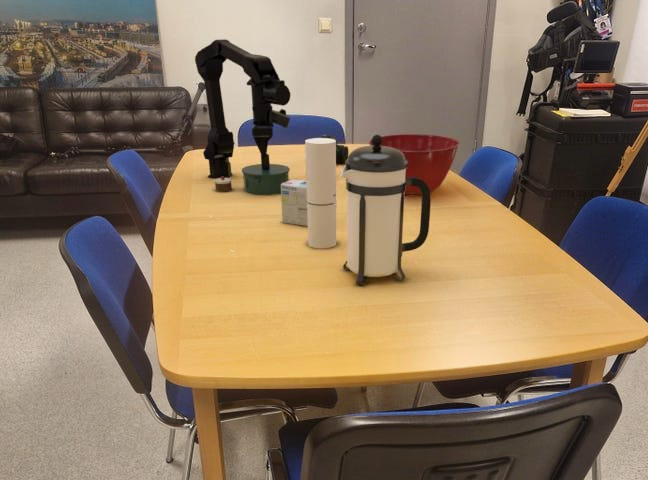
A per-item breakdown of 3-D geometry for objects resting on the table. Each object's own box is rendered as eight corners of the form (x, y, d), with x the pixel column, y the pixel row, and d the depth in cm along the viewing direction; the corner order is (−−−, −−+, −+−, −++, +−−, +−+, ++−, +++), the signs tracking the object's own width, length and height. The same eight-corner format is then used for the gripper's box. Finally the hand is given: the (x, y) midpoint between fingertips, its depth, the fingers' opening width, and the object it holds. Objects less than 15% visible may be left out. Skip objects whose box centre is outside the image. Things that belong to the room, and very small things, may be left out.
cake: (212, 191, 202) (211, 177, 200) (219, 187, 207) (218, 173, 205) (228, 192, 201) (226, 178, 199) (234, 188, 206) (233, 174, 203)
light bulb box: (327, 221, 175) (326, 182, 170) (315, 228, 170) (314, 188, 164) (293, 216, 179) (291, 178, 174) (281, 222, 174) (279, 183, 168)
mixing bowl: (355, 196, 198) (355, 145, 190) (385, 176, 221) (386, 130, 213) (442, 206, 189) (446, 153, 181) (464, 184, 212) (468, 136, 204)
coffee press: (390, 294, 131) (397, 145, 116) (327, 278, 139) (325, 136, 124) (427, 268, 144) (437, 131, 129) (367, 255, 151) (370, 124, 137)
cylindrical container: (340, 241, 161) (340, 139, 148) (330, 249, 155) (329, 144, 142) (314, 237, 163) (312, 137, 150) (303, 246, 157) (300, 142, 144)
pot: (234, 195, 198) (232, 176, 196) (257, 180, 215) (256, 162, 212) (277, 198, 195) (276, 179, 193) (297, 183, 212) (296, 165, 209)
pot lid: (234, 176, 198) (232, 158, 195) (252, 165, 211) (251, 148, 208) (280, 179, 195) (279, 161, 192) (296, 168, 208) (295, 151, 205)
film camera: (347, 168, 232) (348, 140, 227) (314, 168, 232) (313, 140, 227) (348, 158, 247) (348, 131, 242) (317, 157, 247) (316, 131, 242)
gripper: (288, 106, 185) (290, 160, 193) (287, 98, 201) (289, 148, 209) (250, 106, 184) (253, 161, 192) (252, 98, 200) (255, 148, 208)
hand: (264, 154), depth 200 cm, fingers open, 9 cm apart
